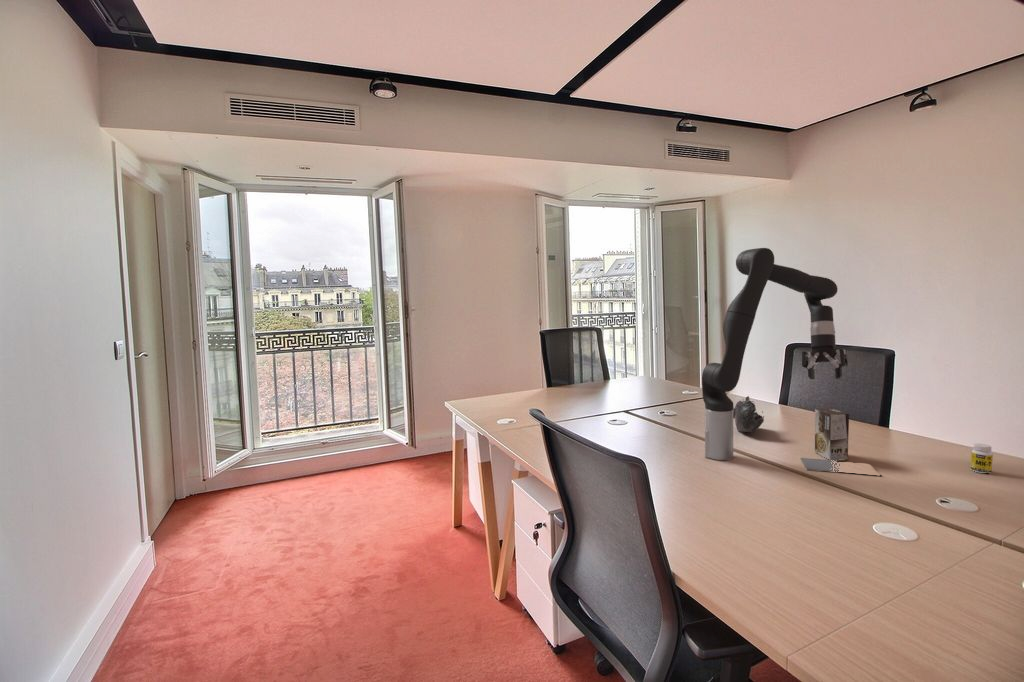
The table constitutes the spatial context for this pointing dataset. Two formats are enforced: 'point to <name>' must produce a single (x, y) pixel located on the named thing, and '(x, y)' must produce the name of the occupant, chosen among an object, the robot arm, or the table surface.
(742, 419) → the dark grey lumpy sculpture
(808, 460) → the grey flat sheet
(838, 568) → the table surface
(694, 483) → the table surface
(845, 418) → the coffee box
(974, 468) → the supplement bottle
